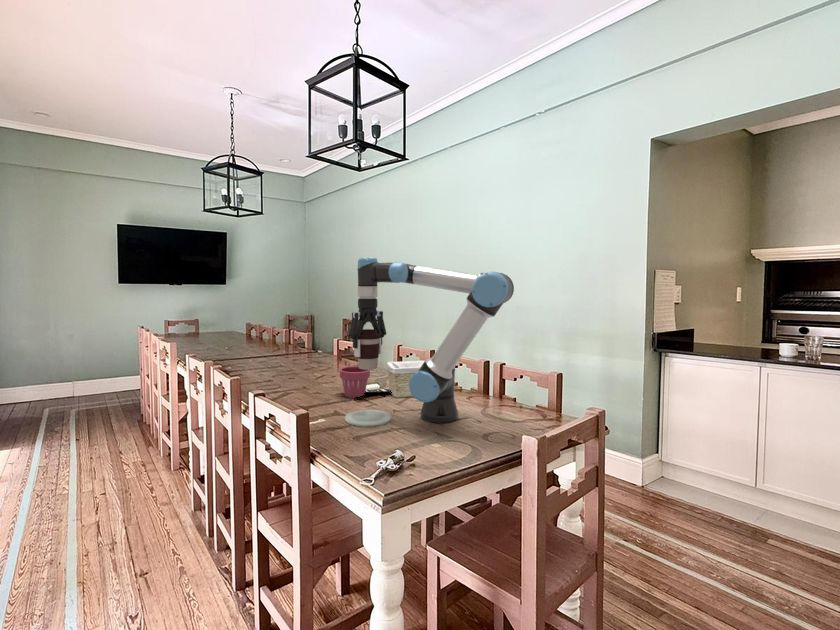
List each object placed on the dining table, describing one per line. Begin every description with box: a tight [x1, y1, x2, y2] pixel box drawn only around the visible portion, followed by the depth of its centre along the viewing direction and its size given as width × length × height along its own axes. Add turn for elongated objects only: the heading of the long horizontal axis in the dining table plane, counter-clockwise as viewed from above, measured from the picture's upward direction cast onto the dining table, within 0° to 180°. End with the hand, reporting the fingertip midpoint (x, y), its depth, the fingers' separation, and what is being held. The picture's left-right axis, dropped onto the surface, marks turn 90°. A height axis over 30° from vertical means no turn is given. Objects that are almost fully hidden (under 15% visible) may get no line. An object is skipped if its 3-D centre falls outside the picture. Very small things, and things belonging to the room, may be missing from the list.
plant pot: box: [339, 365, 371, 399], centre depth 210 cm, size 14×14×13 cm
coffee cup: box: [356, 328, 381, 371], centre depth 173 cm, size 10×10×15 cm
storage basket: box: [386, 360, 425, 399], centre depth 216 cm, size 24×16×15 cm
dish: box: [344, 409, 392, 428], centre depth 175 cm, size 18×18×1 cm
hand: (368, 355), depth 173 cm, fingers closed on coffee cup, 10 cm apart
